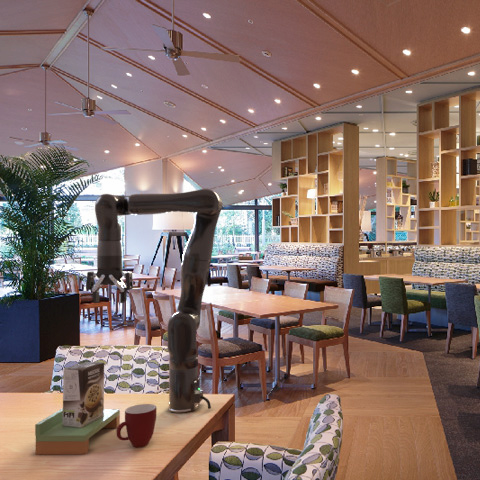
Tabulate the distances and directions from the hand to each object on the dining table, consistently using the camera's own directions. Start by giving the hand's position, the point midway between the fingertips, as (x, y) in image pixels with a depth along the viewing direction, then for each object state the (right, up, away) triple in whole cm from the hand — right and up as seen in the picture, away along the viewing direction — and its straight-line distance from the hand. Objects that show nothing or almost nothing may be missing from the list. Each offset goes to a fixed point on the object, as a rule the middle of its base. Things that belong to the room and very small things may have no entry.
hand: (109, 302), depth 163 cm
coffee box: (+4, -31, -23) cm, 39 cm away
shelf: (+3, -36, -23) cm, 43 cm away
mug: (+22, -37, -27) cm, 50 cm away
